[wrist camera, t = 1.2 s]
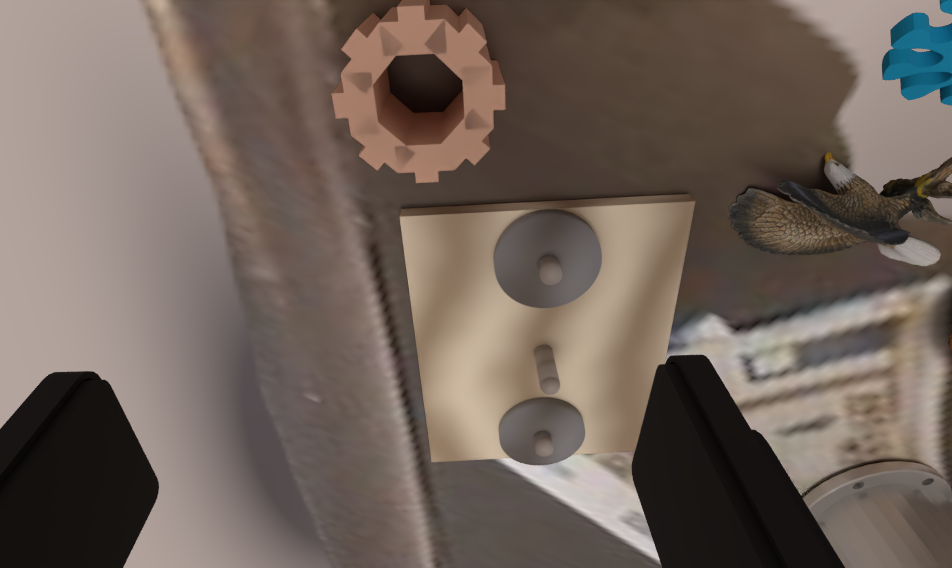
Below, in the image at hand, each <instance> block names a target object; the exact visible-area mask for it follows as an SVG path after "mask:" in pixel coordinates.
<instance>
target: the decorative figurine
mask: <svg viewBox="0 0 952 568" xmlns="http://www.w3.org/2000/svg"><path fill="white" fill-rule="evenodd" d="M950 326H952V322H951V324H950ZM948 339H949V340H950V341H948V344H950V349H951V352H952V331H951V335H950V337H949V338H948Z"/></svg>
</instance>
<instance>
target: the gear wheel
mask: <svg viewBox="0 0 952 568" xmlns="http://www.w3.org/2000/svg"><path fill="white" fill-rule="evenodd" d="M486 43H487V40H486V37H485V33H484V29H483V26H482V23H481V22H480V21H479V20H478V19H477V18H476V17H475V16H474V15H473V14H472V13H471V12H470V11H469V10H468V9H467V8H465V9H464V11H463V12H462V13H461V14H460V16H458V15H457V14H455V13H454V12H453V11H452V10H451V9H450V8H449V7H448V6H447V5H430V0H402V1H401V2H400V3H399V5H398V6H397V7H392V8H391V9H390V10H389V11H388V12H387V13H386V15H385V16H384V17H383V18H382V19H380V18H379V17H378V16H376V15H375V14H374V13H372V14H371V15H370V16H369V17H368V18H367V19H366V20H365V21H364V22H363V23H362V24H361V25H360V26H359V27H358V28H357V29H356V30H355V31H354V33H353V34H352V35H351V37H350V38H349V39H348V41H347V42H346V44H345V45H344V46H343V48H342V49H341V50H342V51H343V52H344V53H346V54H347V55H348V56H349V57H350V58H351V60H350V62H349V63H348V65H347V66H346V67H345V69H344V70H343V71H342V72H341V79H342V81H341V82H340V83H339V85H338V86H337V87H336V89H335V90H334V91H333V92H332V99H333V104H334V110H335V115H336V118H348V120H349V126H350V132H351V136H352V137H354V138H355V139H356V140H357V141H359V142H360V143H361V144H362V145H363V147H362V149H361V151H360V154H359V156H360V157H361V158H362V159H364V160H365V161H366V162H367V163H369V164H370V165H371V166H372V167H374V168H375V169H376V170H378V169H379V168H380V167H381V166H382V164H383V163H384V162H385V163H386V164H387V165H388V166H390V167H391V168H392V169H393V170H395V171H396V172H397V173H410V172H415V178H416V183H425V182H439V171H448V170H455V169H456V168H457V167H458V166H459V165H460V164H461V163H462V162H463V161H464V160H465V159H466V158H467V159H468V160H469V161H470V162H471V163H472V164H473V165H475V164H476V163H477V162H478V161H479V160H480V159H481V158H482V157H483V156H484V155H485V154H486V153H487V152H488V151H489V150H490V144H489V138H488V134H489V133H490V132H491V131H492V129H493V128H494V121H493V110H505V83H504V80H503V77H502V74H501V71H500V68H499V64H498V61H497V60H492V61H491V60H490V56H489V52H488V48H487V45H486ZM419 54H435V55H436V56H437V57H438V58H439V59H440V60H441V61H442V62H443V63H444V64H446V65H447V66H448V67H449V68H450V69H451V70H452V71H453V72H454V73H455V74H456V75H457V76H458V77H459V78H460V79H462V80H463V90H462V91H461V92H460V93H459V94H458V95H457V97H456V98H455V99H454V100H453V101H452V102H451V104H450V105H449V106H448V107H447V108H446V109H445V110H444V112H426V113H413V112H412V111H411V110H410V109H409V108H407V107H406V106H405V105H404V104H403V103H402V102H400V101H399V100H398V99H397V98H396V97H395V96H394V95H392V94H391V93H390V86H389V78H388V70H387V66H388V65H389V64H390V63H391V61H392V60H393V59H394V57H395V56H399V55H419Z"/></svg>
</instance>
